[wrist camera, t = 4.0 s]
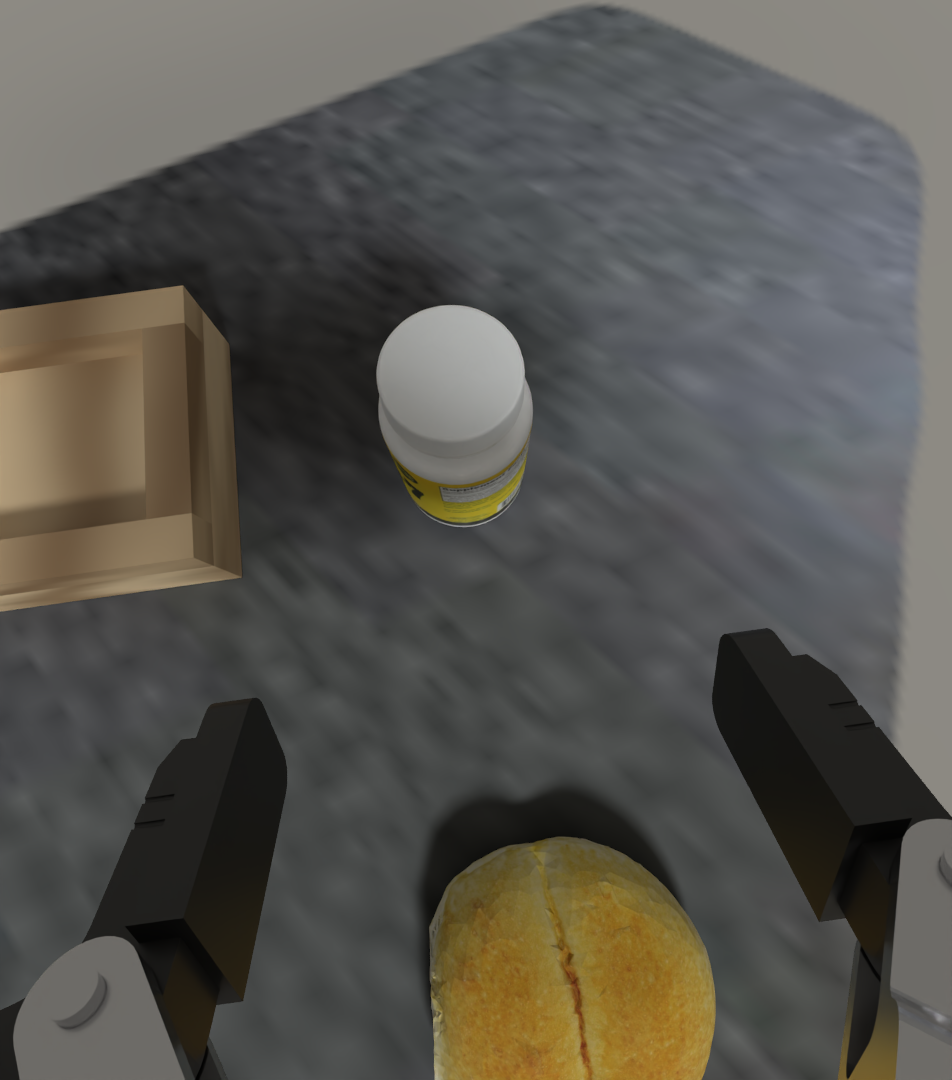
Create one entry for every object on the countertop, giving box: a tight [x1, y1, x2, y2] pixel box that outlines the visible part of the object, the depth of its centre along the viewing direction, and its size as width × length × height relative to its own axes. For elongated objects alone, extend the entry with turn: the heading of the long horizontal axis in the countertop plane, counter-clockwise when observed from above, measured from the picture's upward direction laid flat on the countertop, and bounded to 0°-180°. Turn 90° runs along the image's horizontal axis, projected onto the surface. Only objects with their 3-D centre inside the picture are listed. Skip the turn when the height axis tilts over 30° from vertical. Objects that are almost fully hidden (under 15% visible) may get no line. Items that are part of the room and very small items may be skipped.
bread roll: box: [429, 837, 716, 1080], centre depth 19 cm, size 8×9×4 cm
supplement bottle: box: [376, 305, 533, 527], centre depth 20 cm, size 5×5×8 cm
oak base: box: [0, 285, 242, 611], centre depth 23 cm, size 10×10×4 cm
